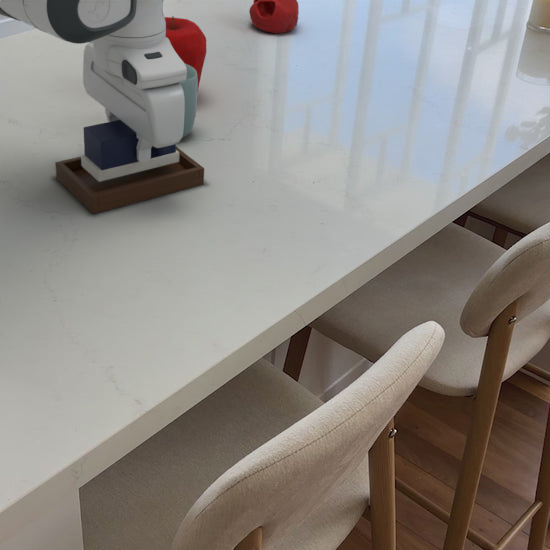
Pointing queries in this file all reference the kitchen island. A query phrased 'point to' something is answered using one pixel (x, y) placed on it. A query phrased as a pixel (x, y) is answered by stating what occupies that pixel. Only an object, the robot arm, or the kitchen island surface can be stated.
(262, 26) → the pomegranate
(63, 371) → the kitchen island surface
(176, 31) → the apple
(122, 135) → the whiteboard eraser
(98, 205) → the wooden tray
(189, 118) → the cup
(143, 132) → the robot arm
